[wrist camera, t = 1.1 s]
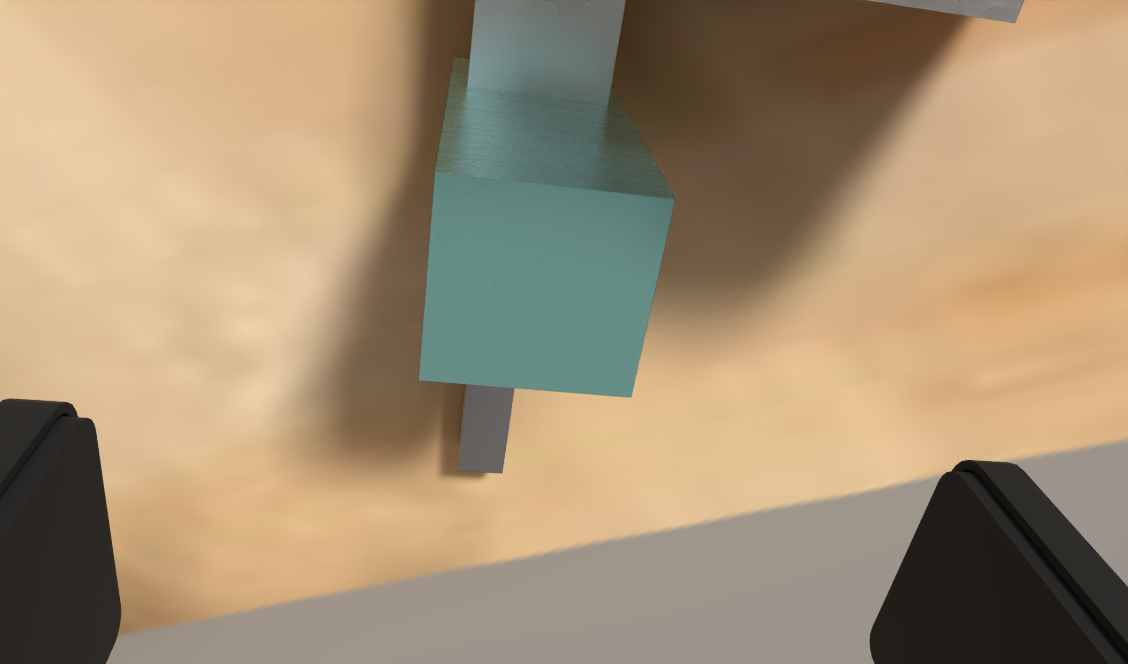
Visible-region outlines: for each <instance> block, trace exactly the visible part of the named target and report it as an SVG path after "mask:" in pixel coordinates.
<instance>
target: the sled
mask: <svg viewBox="0 0 1128 664" xmlns="http://www.w3.org/2000/svg"><path fill="white" fill-rule="evenodd" d="M868 1H874V2H881V3H887V4H894V5H900V6H907V7H913V8H920V9H926V10H932V11H939V12H945V13H952V14H958V15H965V16H971V17H978V18H984V19H991V20H997V21H1003V22H1010V23H1015V22H1016V20H1017V17H1018V15H1019V12H1020V9H1021V7H1022V4H1023V1H1024V0H868ZM625 2H626V0H475V9H474V20H473V31H472V42H471V53H470V58H462V57H455V56H454V60H453V66H452V72H451V79H450V85H449V91H448V97H447V103H446V109H445V115H444V121H443V127H442V133H441V139H440V145H439V151H438V157H437V163H436V169H435V179H434V192H433V205H432V218H431V230H430V243H429V256H428V269H427V282H426V295H425V307H424V320H423V333H422V346H421V359H420V372H419V380H421V381H433V382H446V383H458V384H470V385H483V386H495V387H507V388H519V389H532V390H544V391H556V392H568V393H581V394H593V395H605V396H617V397H630V398H631V396H632V392H633V387H634V383H635V378H636V374H637V369H638V365H639V360H640V356H641V351H642V347H643V342H644V338H645V333H646V329H647V324H648V320H649V315H650V311H651V306H652V302H653V297H654V293H655V288H656V284H657V279H658V275H659V270H660V266H661V261H662V257H663V252H664V248H665V243H666V239H667V234H668V230H669V225H670V221H671V216H672V212H673V207H674V203H675V198H674V196H673V195H672V193H671V191H670V189H669V187H668V185H667V184H666V182H665V180H664V178H663V176H662V174H661V173H660V171H659V169H658V167H657V165H656V163H655V162H654V160H653V158H652V156H651V154H650V152H649V150H648V149H647V147H646V145H645V143H644V141H643V139H642V138H641V136H640V134H639V132H638V130H637V128H636V127H635V125H634V123H633V121H632V119H631V117H630V116H629V114H628V112H627V110H626V108H625V106H624V105H623V103H622V101H621V99H620V97H619V95H618V94H617V92H616V90H615V88H614V86H613V84H612V78H613V72H614V66H615V60H616V54H617V49H618V43H619V37H620V31H621V25H622V19H623V14H624V8H625Z"/></svg>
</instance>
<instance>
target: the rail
mask: <svg viewBox="0 0 1128 664" xmlns="http://www.w3.org/2000/svg"><path fill="white" fill-rule="evenodd" d="M513 395H514V388H507V387H495V386H483V385H470V384H465V393H464V402H463V411H462V421H461V430H460V439H459V454H458V471H472V472H487V473H502V472H503V465H504V458H505V451H506V444H507V437H508V430H509V423H510V416H511V409H512V402H513Z"/></svg>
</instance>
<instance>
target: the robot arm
mask: <svg viewBox="0 0 1128 664" xmlns="http://www.w3.org/2000/svg"><path fill="white" fill-rule="evenodd" d="M120 620H121V603H120V596H119V589H118V582H117V575H116V568H115V561H114V554H113V547H112V540H111V533H110V526H109V519H108V512H107V505H106V498H105V491H104V484H103V477H102V470H101V463H100V456H99V448H98V441H97V434H96V429H95V425H94V423H93V421H92V420H91V419H89V418H80V417H78V416H77V412H76V410H75V408H74V406H73V405H72V404H70V403H68V402H57V401H41V400H25V399H5V400H2V401H1V402H0V664H106V662H107V660H108V657H109V655H110V653H111V651H112V649H113V646H114V644H115V641H116V639H117V635H118V631H119V626H120ZM870 650H871V655H872V658H873V661H874V663H875V664H1128V587H1127V586H1126V584H1125V583H1124V582H1123V581H1122V580H1121V579H1120V578H1119V576H1117V574H1116V573H1115V572H1114V571H1113V570H1112V569H1111V568H1110V567H1109V565H1108V564H1107V563H1106V562H1105V561H1104V560H1103V559H1102V558H1101V556H1100V555H1099V554H1098V553H1097V552H1096V551H1095V550H1094V549H1093V547H1092V546H1091V545H1090V544H1089V543H1088V542H1087V541H1086V540H1085V539H1084V537H1083V536H1082V535H1081V534H1080V533H1079V532H1078V531H1077V530H1076V528H1075V527H1074V526H1073V525H1072V524H1071V523H1070V522H1069V521H1068V520H1067V518H1066V517H1065V516H1064V515H1063V514H1062V513H1061V512H1060V511H1059V509H1058V508H1057V507H1056V506H1055V505H1054V504H1053V503H1052V502H1051V501H1050V499H1049V498H1048V497H1047V496H1046V495H1045V494H1044V493H1043V492H1042V491H1041V489H1040V488H1039V487H1038V486H1037V485H1036V484H1035V483H1034V482H1033V481H1032V479H1031V478H1030V477H1029V476H1028V475H1027V474H1026V473H1025V472H1024V471H1023V470H1022V469H1021V468H1020V467H1019V466H1017V465H1016V464H1012V463H1008V462H992V461H977V460H965V461H961V462H960V463H958V464H957V465H956V466H955V467H954V469H953V470H952V471H951V472H946V473H945V474H944V475H943V476H942V477H941V479H940V480H939V482H938V484H937V486H936V489H935V491H934V493H933V495H932V497H931V500H930V502H929V504H928V506H927V508H926V510H925V513H924V515H923V517H922V519H921V521H920V524H919V526H918V528H917V530H916V532H915V535H914V537H913V539H912V541H911V543H910V546H909V548H908V550H907V553H906V555H905V557H904V559H903V561H902V563H901V565H900V568H899V570H898V572H897V575H896V577H895V579H894V581H893V583H892V585H891V588H890V590H889V592H888V594H887V596H886V599H885V601H884V603H883V605H882V607H881V610H880V612H879V614H878V616H877V618H876V620H875V623H874V625H873V627H872V630H871V633H870Z"/></svg>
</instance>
